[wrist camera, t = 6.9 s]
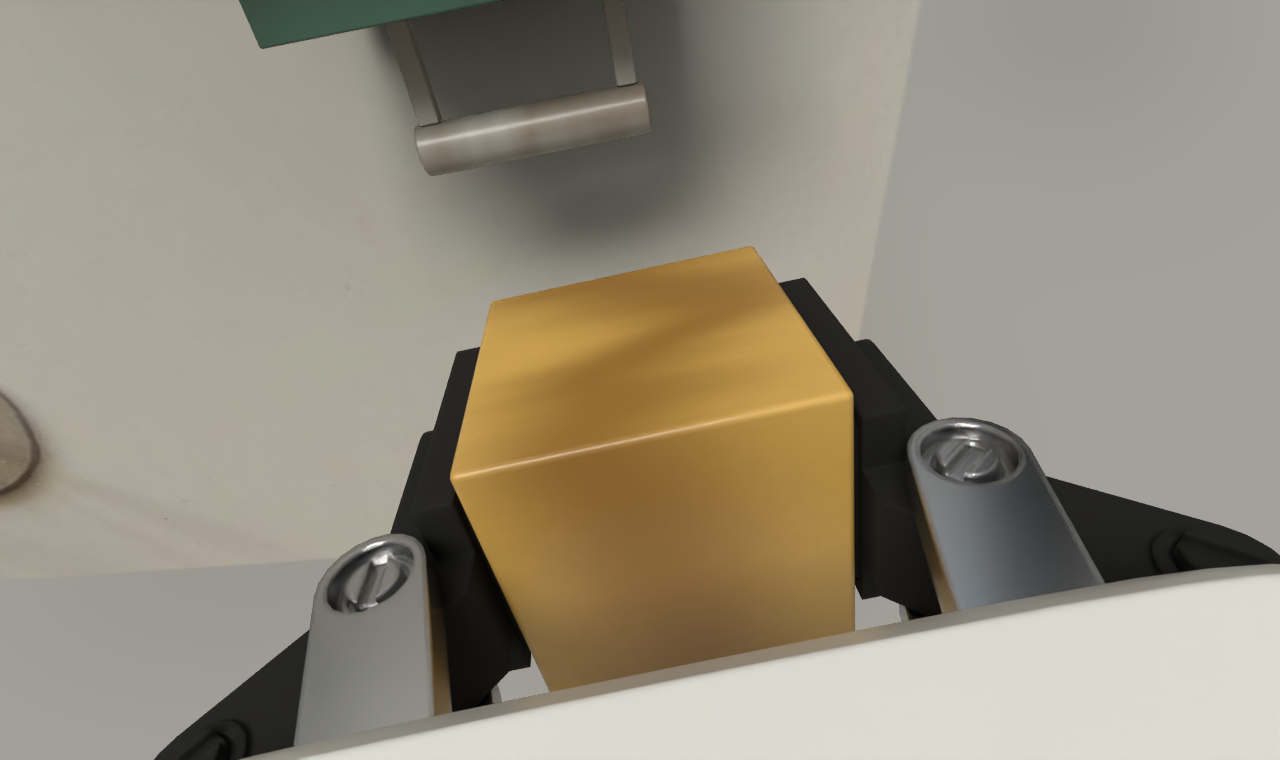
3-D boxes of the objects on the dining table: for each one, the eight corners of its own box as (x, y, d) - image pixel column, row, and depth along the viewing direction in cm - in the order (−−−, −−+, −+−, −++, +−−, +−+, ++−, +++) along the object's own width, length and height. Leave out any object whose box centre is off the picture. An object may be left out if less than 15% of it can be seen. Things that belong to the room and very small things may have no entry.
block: (753, 242, 10) (857, 392, 7) (773, 450, 13) (857, 645, 9) (488, 299, 10) (445, 478, 7) (557, 495, 13) (553, 706, 9)
